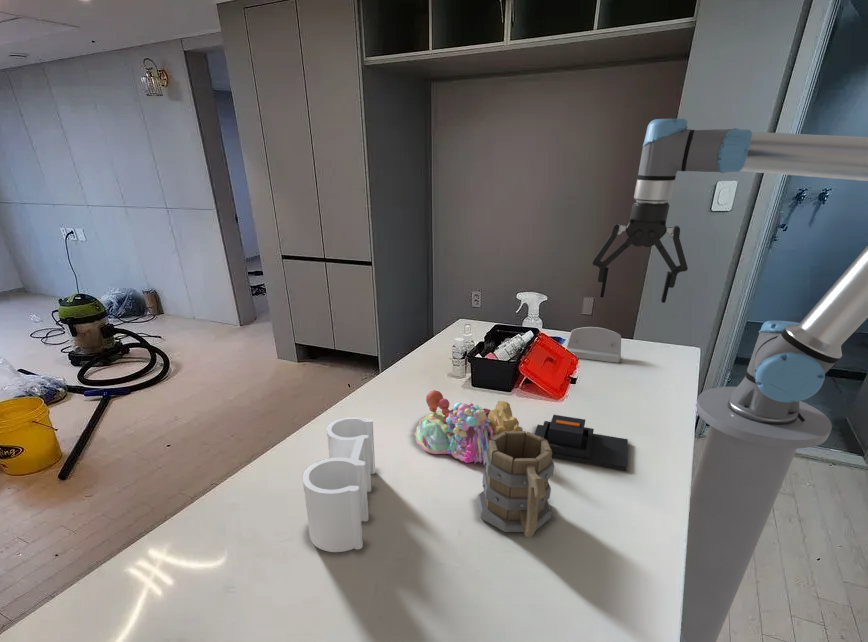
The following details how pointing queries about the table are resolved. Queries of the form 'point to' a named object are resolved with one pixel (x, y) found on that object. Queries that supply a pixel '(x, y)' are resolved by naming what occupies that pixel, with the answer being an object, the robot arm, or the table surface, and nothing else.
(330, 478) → the bracket
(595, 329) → the grey upright panel
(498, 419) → the candy landscape model
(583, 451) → the base pad
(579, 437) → the black orange striped block
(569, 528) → the table surface
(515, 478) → the tankard
